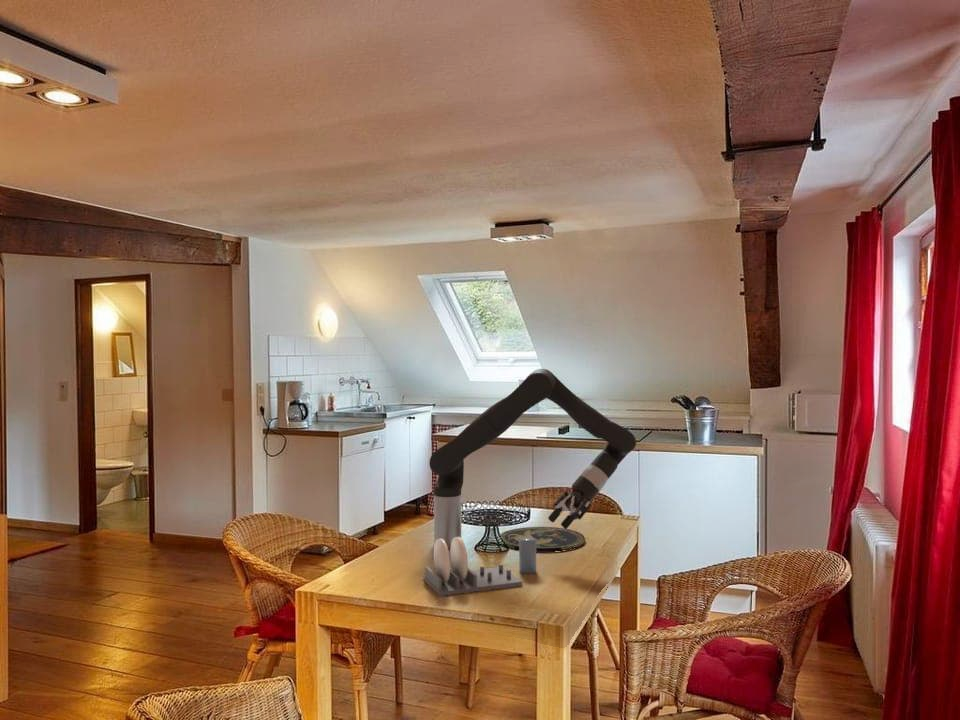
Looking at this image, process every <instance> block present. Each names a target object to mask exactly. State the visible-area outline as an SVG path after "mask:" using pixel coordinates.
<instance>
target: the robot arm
mask: <svg viewBox="0 0 960 720" xmlns="http://www.w3.org/2000/svg"><path fill="white" fill-rule="evenodd" d="M544 400H549V401H551V402H552V403H554V404H555V405H557V406H559V407H560V408H561V409H562V410H563V411H564V412H565V413H566V414H567V415H568V416H569V417H570V418H571V419H572V420H573V421H574V422H575V423H576V424H577V425H578V426H579V427H581V429H583V430H585V431H586V432H588V433H589V435H592V436H593V437H595V438H596V439H601V440H604V441H605V442H607V443H606V445H605V446H604V448H603V449H602V450H601V452H600V453H599V454H598V455H597V456H596V457H595V458H594V459H593V460H592V462H591V463H590V464H589V465H588V466H587V467H586V468H585V469H584V470H583V471H582V472H581V474H580V475H579V476H578V478H576V479H575V481H574V482H573V483H572V485H571V490H572V491H571V492H568V491H564V492H563V493H562V494H561V495H560V496H559V497H558V498H557V499H556V501H555V502H554V503H553V506H554V509H553V511H552V512H551V513H550V514H549V516H548V517H547V519H548V520H549V521H550V522H551V523H555V522H556V520H557V519H558V518H559V516H560V515H561V514H562V513H563V512H565V511H566V512H568V511H569V513H568V514H567V516H565V518H564V519H563V520H562V522H561V523H560V525H561V527H562V528H564V529H568V528H569V527H570V525H571V524H572V523H573V522H574V521H576V520H579V521H580V520H582V518H583V517H584V515H585V514H586V513H587V512H588V511H589V509H590V508H591V506H592V502H593V500H594V499H595V497H597V495H598V494H599V492H601V490H602V489H603V488H604V486H605V485H606V484H607V482H608V481H609V479H610V478H611V477H612V475H613V474H614V473H615V471H616V470H617V468H618V466H619V464H620V463H621V462H622V461H623V460H624V459H625V458H626V456H628V455H629V454H630V453H631V452H632V451H634V449H635V448H636V446H637V439H636V436H635V435H634V434H633V433H632V432H631V431H630V430H629V429H627V428H626V427H624V426H621V424H618V423H616V422H614V421H612V420H610V419H608V417H606V416H605V415H604V414H603V413H601V412H599V411H598V410H596V409H595V408H594V407H593V406H591V405H589V404H588V403H587V402H585V401H584V400H582V399H581V398H580V397H578V396H577V395H576V394H575V393H574V392H572V390H570V388H568V387H567V386H566V385H565V384H564V383H563V382H562V381H561V380H559V378H558V377H557V376H556V375H555V374H554V373H553V372H552V371H550V370H549V369H548V368H547V369H546V368H538V369H536V370H534V371H532V372H531V373H530V374H529V375H527V376H526V378H525V379H524V380H523V381H522V382H521V383H520V384H519V385H518V386H517V387H516V388H515V389H514V390H513V391H512V392H511V393H510V394H508V395H507V396H505V397H504V398H501V400H499V401H496V403H494V404H493V405H491V406H489V407H488V408H486V409H485V410H484V411H483V412H482V413H481V414H479V415H478V416H477V417H476V418H475V419H474V420H472V422H470V423H469V424H468V425H467V426H466V427H465V428H464V429H463V430H462V431H461V432H460V433H459V434H458V435H457V436H456V437H453V438H452V439H451V440H450V441H448V442H447V443H445V444H444V445H442V446H441V447H439V448H438V449H435V451H433V452H432V454H431V456H430V459H429V467H430V468H429V469H430V470H431V471H432V472H433V474H434V475H437V476H438V478H437V481H436V483H435V485H434V486H433V545H435V542H436V540H437V539H444V540H445V542H446V544H447V547H448V550H449V549H450V548H451V542H452V540H453V538H454V537H460V538H461V539H462V488H463V484H464V475H465V474H464V471H465V469H464V467H465V465H464V463H465V461H464V460H465V459H466V458H467V457H468V456H469V455H471V454H473V453H474V452H476V451H479V450H480V449H482V448H484V447H485V446H487V445H489V444H491V443H492V442H493V441H495V440H496V439H498V438H499V437H500V436H501V435H502V434H504V433H505V432H507V430H508V429H509V428H510V427H512V426H513V425H514V423H516V421H517V420H519V418H520V417H521V416H522V415H523V414H524V413H525V412H527V411H528V410H529V409H530V410H531V409H532V408H533V407H534V406H536V405H537V404H539V403H540V402H543V401H544Z"/></svg>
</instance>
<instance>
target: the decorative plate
mask: <svg viewBox="0 0 960 720" xmlns="http://www.w3.org/2000/svg"><path fill="white" fill-rule="evenodd" d="M499 535H500V536H501V537H502V539H503V541H504V542H505V543H506V544H507V546H508V547H509V548H511V549H510V550H513V549H514V551H518V550H519V539H520V538H523V537H531V538H535V539H536V552H554V553H556V552H555V551H563V550H570V549H574V548H577V549H579V548H578V547H580V546H581V547H583V546H584V545H585V544H586V537H585V536H584V534H583V533H581V532H579V531H576V530H573V529H568V528H567V529H565V528H564V527H558V526H557V527H556V526H555V527H554V526H528V527H519V528H518V527H517V528H514V529H510V530H506V531H503V532H501V533H500V534H499ZM584 543H585V544H584ZM582 545H583V546H582ZM581 547H580V548H581ZM509 548H508V549H509ZM574 550H575V549H574ZM570 551H571V550H570Z"/></svg>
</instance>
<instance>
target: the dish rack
mask: <svg viewBox="0 0 960 720" xmlns="http://www.w3.org/2000/svg"><path fill="white" fill-rule="evenodd" d="M433 545H434V544H433ZM468 562H469V561H468V553H467V548H466V545H465V543H464V540H463V539H462V537H461V538H460V537H454V538H453V540H452V542H451V548H450V550H449V549H448V547H447V544H446V542H445V540H444V539H437V540H436V542H435V545H434V546H433V567H434V571H433V570H432V569H431V568H430V567H429V566H428V565H425V567H424V575H423V581H424V582H425V584H427V585H428V586H429V587H430V589H431V590H432V591H434V593H436V594H437V596H438V597H440V596H442V597H446V595H449V596H453V595H452V594H457V595H460V594H459V593H464V594H467V593H466V592H472V593H475V592H474V591H479V592H484V591H483V590H487V591H492V590H491V589H494V590H501V588H502V589H507V588H508V589H510V588H515V587H523V581H522V580H521V579H519V578H518V577H517V576H515V574H513V573H512V572H511V571H512V570H511V569H506V568H504V564H498V566H496V567H489V568H488V567H487V568H485V566H480V567H479V569H470V568H469V566H468V565H469V563H468Z"/></svg>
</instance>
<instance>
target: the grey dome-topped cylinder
mask: <svg viewBox="0 0 960 720" xmlns="http://www.w3.org/2000/svg"><path fill="white" fill-rule="evenodd" d="M518 552H519V555H518V557H519V558H518V559H519V565H518V566H519V569H518V570H519V573H520V574H524V575H532V574H536V573H537V553H536V539H535V538H531V537H523V538H520V539H519V551H518Z"/></svg>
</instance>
